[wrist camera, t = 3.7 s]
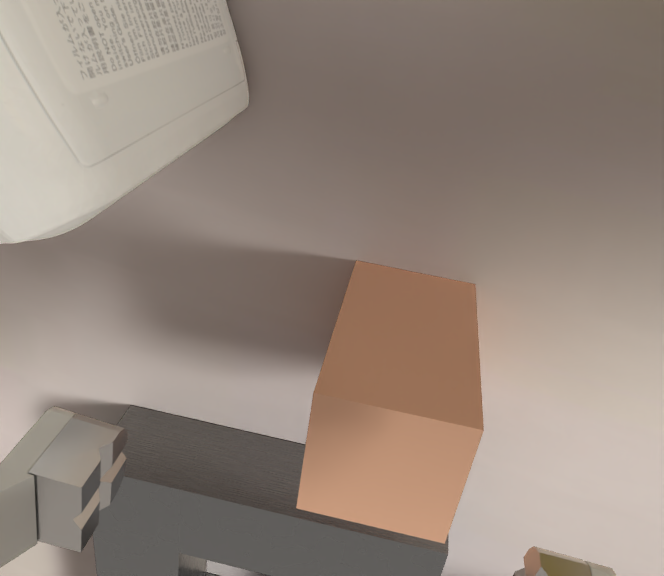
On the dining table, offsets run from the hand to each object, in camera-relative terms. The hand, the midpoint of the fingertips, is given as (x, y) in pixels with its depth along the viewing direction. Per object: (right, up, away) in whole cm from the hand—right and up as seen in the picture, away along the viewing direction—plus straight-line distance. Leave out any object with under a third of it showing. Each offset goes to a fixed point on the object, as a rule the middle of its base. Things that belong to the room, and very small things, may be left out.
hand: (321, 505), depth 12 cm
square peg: (+3, +3, +12) cm, 13 cm away
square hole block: (-3, -9, +20) cm, 22 cm away
